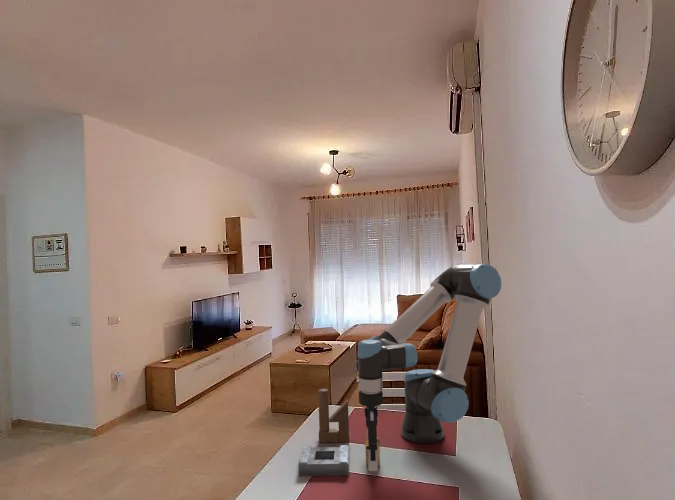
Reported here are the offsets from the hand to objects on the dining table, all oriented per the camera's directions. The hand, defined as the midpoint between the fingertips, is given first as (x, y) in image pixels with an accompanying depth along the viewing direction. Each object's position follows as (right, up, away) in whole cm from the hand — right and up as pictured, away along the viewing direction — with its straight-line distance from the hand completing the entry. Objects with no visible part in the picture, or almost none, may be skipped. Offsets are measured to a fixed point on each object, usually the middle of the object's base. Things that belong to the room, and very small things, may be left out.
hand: (372, 459), depth 127 cm
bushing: (0, -2, 0) cm, 2 cm away
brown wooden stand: (-12, -3, +19) cm, 22 cm away
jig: (-15, -2, 0) cm, 15 cm away
